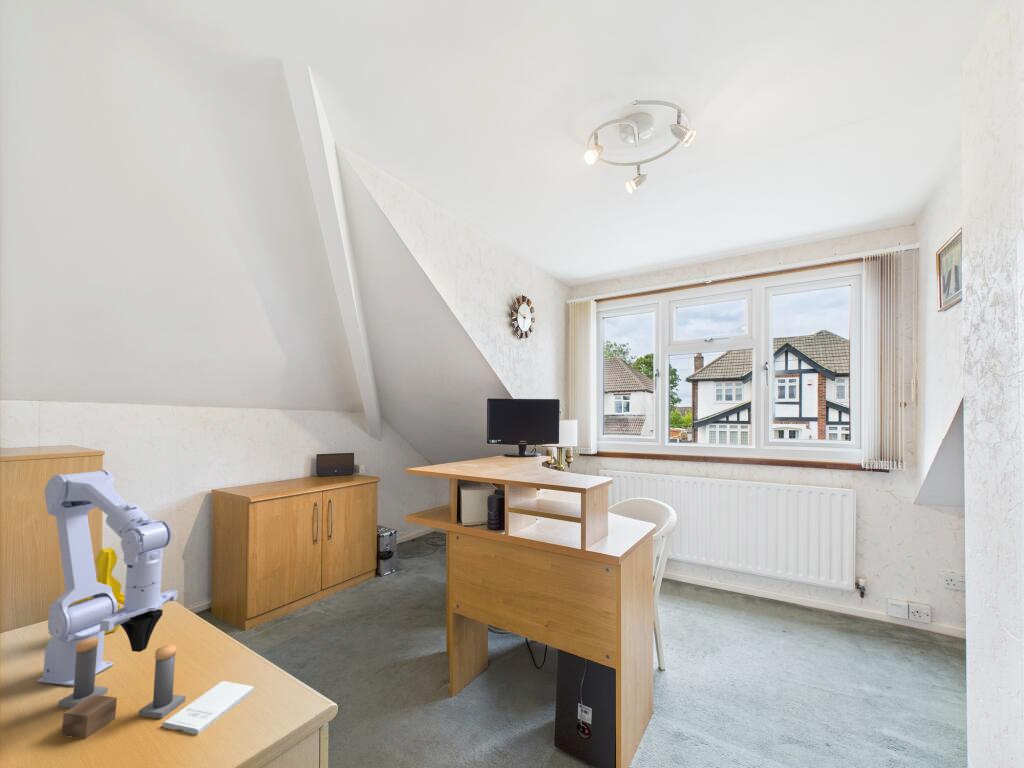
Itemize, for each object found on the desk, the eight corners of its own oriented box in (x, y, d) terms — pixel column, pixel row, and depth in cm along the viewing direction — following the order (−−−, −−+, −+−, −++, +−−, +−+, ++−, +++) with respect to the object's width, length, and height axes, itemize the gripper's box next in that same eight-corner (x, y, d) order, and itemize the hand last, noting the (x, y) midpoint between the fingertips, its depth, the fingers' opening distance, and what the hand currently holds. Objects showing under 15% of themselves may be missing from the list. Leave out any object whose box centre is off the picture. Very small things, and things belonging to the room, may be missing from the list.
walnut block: (61, 736, 77) (63, 713, 77) (92, 716, 82) (93, 694, 82) (85, 739, 76) (87, 715, 76) (115, 719, 81) (116, 697, 81)
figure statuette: (136, 616, 121) (141, 536, 122) (147, 624, 117) (152, 541, 118) (44, 644, 106) (52, 553, 107) (53, 655, 102) (60, 560, 103)
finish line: (58, 706, 84) (62, 647, 85) (86, 690, 89) (90, 634, 90) (161, 718, 81) (165, 657, 82) (185, 701, 86) (188, 643, 87)
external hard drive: (253, 694, 89) (197, 738, 77) (221, 688, 91) (161, 730, 79) (253, 686, 90) (198, 728, 77) (221, 680, 91) (162, 720, 79)
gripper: (124, 599, 82) (119, 672, 81) (190, 571, 97) (187, 633, 96) (93, 596, 83) (87, 668, 82) (163, 569, 98) (159, 630, 97)
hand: (139, 649), depth 89 cm, fingers closed
